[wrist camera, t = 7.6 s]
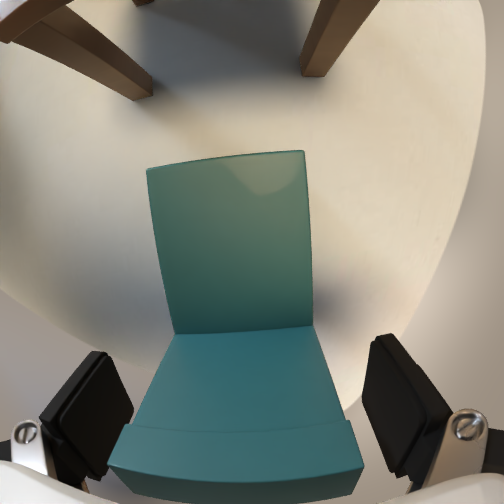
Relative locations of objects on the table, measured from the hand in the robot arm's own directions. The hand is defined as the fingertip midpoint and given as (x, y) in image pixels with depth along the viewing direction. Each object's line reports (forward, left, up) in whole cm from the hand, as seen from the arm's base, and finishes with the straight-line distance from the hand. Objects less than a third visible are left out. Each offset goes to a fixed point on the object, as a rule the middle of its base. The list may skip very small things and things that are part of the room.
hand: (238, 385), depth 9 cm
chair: (0, +3, -9) cm, 9 cm away
